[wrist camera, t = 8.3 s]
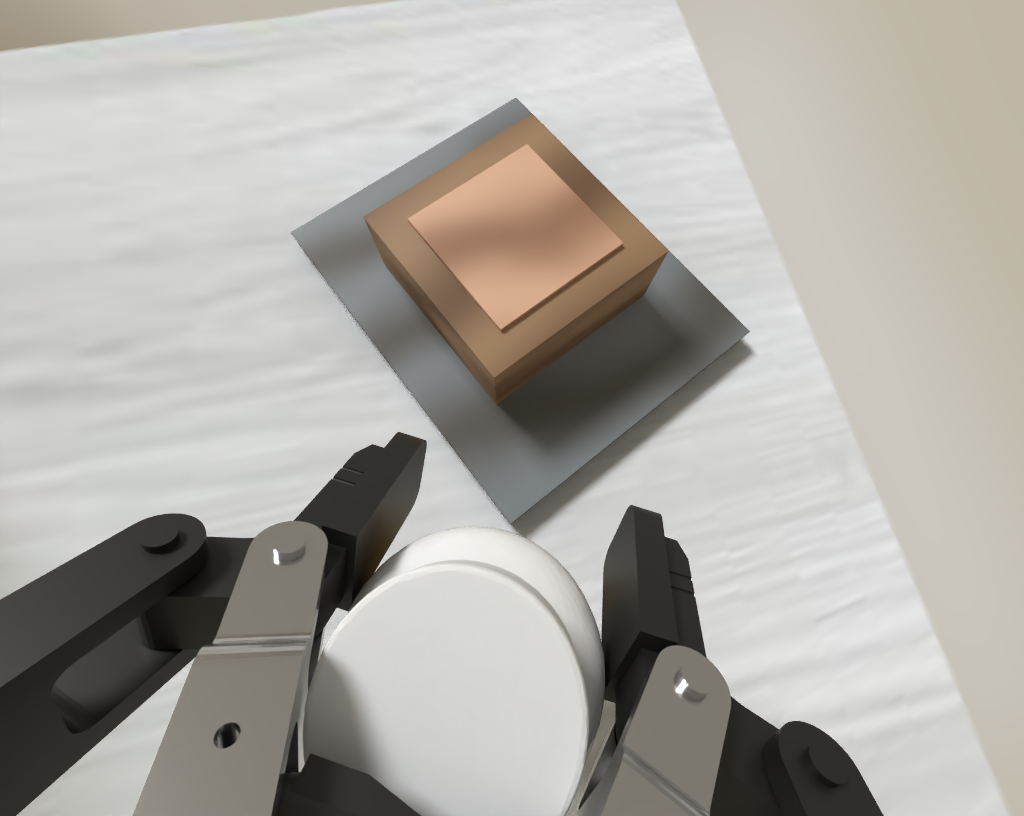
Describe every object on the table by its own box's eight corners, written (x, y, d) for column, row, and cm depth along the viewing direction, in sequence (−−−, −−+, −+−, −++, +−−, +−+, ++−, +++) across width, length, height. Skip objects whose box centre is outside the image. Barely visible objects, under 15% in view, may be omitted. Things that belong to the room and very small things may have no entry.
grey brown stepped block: (298, 243, 27) (249, 175, 22) (515, 111, 29) (517, 24, 24) (510, 524, 22) (510, 520, 17) (740, 339, 25) (798, 290, 20)
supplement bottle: (405, 707, 15) (206, 972, 6) (418, 534, 16) (281, 513, 7) (573, 711, 15) (659, 990, 5) (568, 536, 16) (631, 517, 7)
